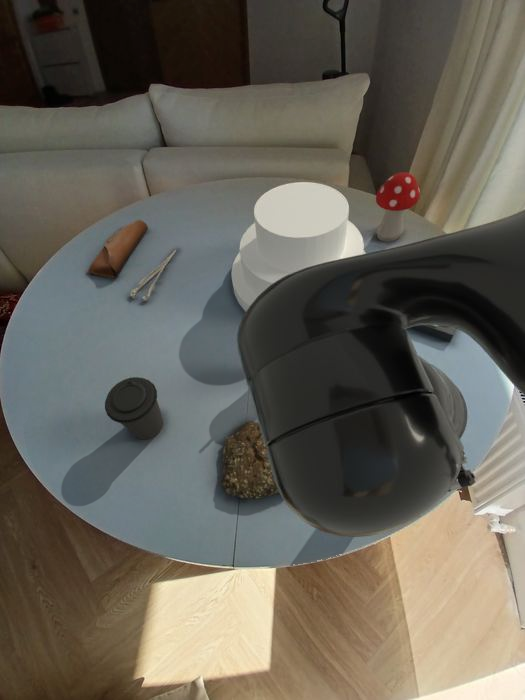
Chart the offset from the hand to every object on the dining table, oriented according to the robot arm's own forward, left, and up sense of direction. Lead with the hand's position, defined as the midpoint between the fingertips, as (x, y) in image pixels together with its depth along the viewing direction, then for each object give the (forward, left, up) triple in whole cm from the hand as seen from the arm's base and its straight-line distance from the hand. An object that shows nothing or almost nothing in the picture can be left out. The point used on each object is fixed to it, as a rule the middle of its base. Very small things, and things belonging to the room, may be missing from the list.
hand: (436, 416), depth 44 cm
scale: (+6, -35, -20) cm, 41 cm away
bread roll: (+20, +8, -20) cm, 29 cm away
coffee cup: (+40, +12, -20) cm, 46 cm away
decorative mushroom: (+21, -55, -20) cm, 62 cm away
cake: (+33, -32, -20) cm, 50 cm away
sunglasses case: (+77, -21, -20) cm, 82 cm away
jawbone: (+63, -19, -20) cm, 69 cm away
